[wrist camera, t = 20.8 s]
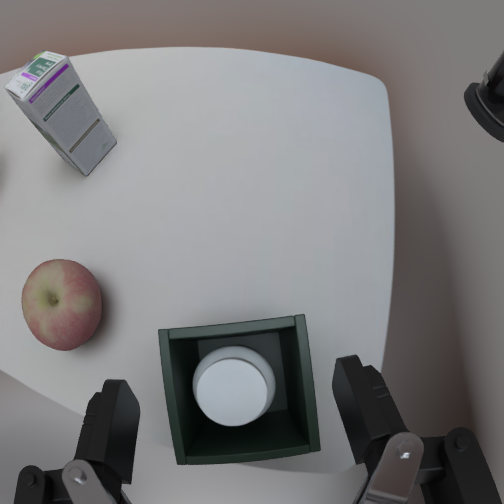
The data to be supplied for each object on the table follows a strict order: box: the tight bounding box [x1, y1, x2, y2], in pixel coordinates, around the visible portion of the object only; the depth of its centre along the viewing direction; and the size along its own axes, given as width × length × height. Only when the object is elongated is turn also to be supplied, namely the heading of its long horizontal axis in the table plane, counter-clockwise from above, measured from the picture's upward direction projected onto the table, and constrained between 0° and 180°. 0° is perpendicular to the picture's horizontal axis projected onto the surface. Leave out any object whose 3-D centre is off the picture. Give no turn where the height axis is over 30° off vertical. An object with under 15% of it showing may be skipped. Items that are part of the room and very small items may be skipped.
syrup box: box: [5, 50, 116, 176], centre depth 25 cm, size 6×6×14 cm
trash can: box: [158, 314, 321, 465], centre depth 20 cm, size 8×8×11 cm
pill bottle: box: [193, 345, 276, 426], centre depth 20 cm, size 5×5×10 cm
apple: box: [21, 259, 102, 351], centre depth 23 cm, size 8×8×8 cm
